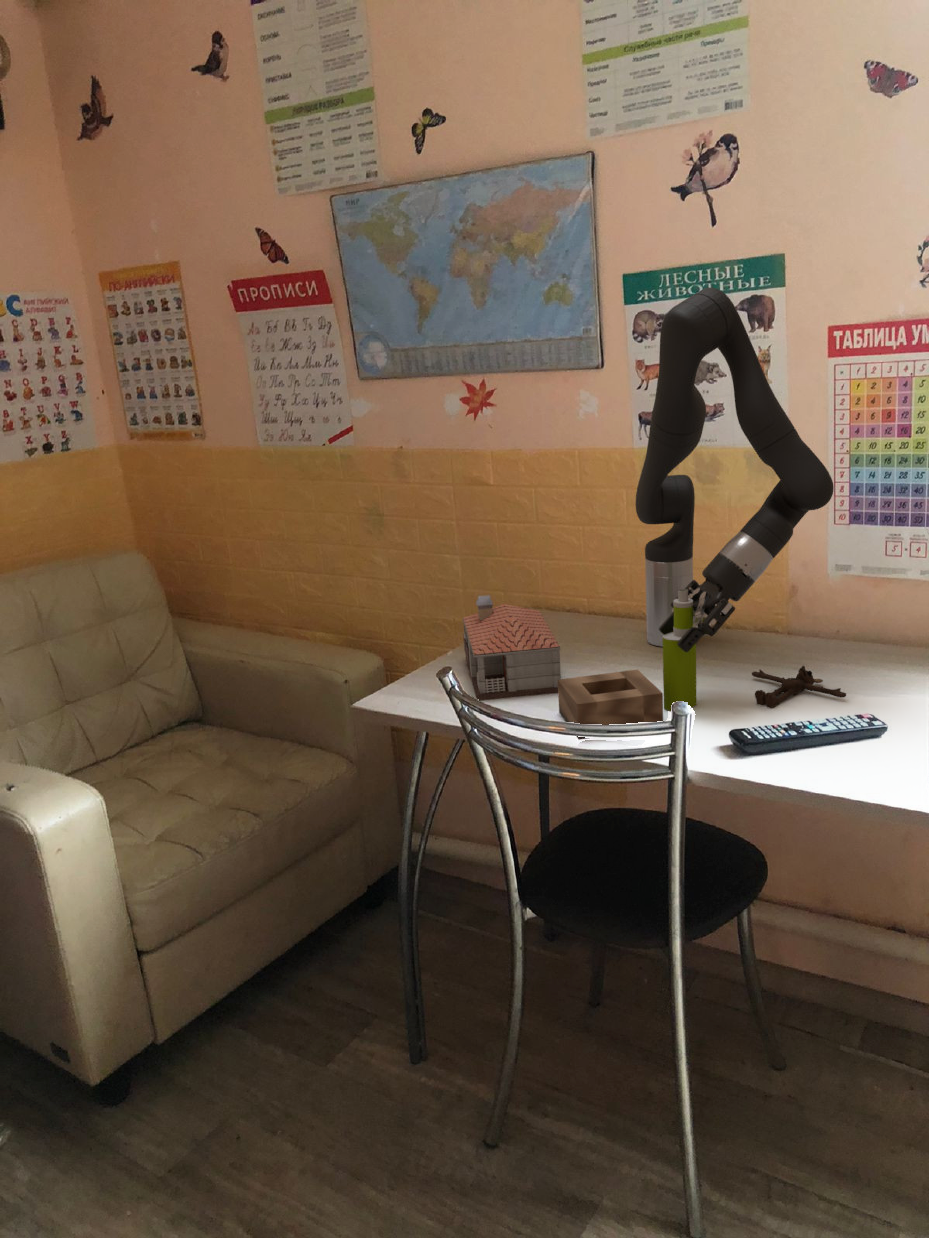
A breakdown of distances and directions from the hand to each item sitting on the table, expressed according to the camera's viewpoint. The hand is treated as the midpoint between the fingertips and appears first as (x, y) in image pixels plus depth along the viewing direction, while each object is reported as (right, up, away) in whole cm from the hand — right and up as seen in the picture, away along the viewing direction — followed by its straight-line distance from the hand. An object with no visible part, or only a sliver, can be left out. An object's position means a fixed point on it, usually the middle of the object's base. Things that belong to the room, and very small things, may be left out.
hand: (671, 641), depth 170 cm
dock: (-10, -13, 0) cm, 17 cm away
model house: (-25, -7, +25) cm, 36 cm away
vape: (+2, -11, +4) cm, 12 cm away
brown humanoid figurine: (+21, -10, +5) cm, 24 cm away
